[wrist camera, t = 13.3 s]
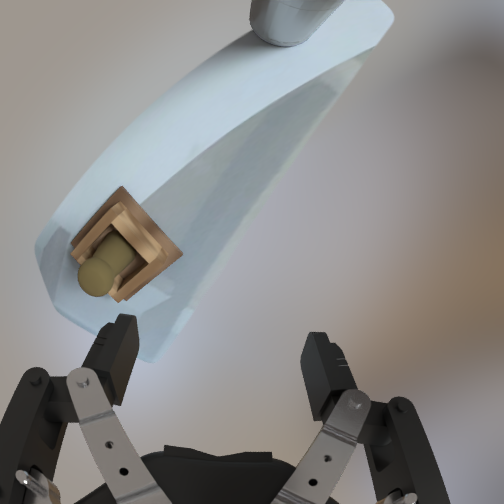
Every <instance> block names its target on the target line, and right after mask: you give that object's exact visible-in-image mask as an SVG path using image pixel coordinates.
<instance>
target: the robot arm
mask: <svg viewBox="0 0 504 504" xmlns="http://www.w3.org/2000/svg"><path fill="white" fill-rule="evenodd" d="M344 1H345V0H252V3H251V9H250V25H251V27H252V29H253V31H254V32H255V33H256V34H257V35H258V36H259V37H260V38H261V39H263V40H264V41H266V42H268V43H270V44H273V45H277V46H288V47H289V46H295V45H298V44H301V43H303V42H305V41H306V40H307V39H308V38H309V37H310V36H311V35H312V34H313V33H314V32H315V31H316V30H317V29H318V28H319V27H320V26H321V25H322V24H323V23H324V22H325V20H326V19H327V18H328V17H329V16H330V15H331V14H332V13H333V12H334V11H335V10H336V9H337V8H338V7H339V6H340V5H341V4H342V3H343V2H344ZM138 351H139V334H138V327H137V319H136V316H134V315H127V314H121V313H120V314H119V315H118V317H117V319H116V321H115V323H110V322H109V323H107V324H106V325H105V326H104V327H102V328H101V330H100V331H99V333H98V335H97V338H96V339H95V341H94V344H93V345H92V347H91V349H90V351H89V352H88V355H87V356H86V359H85V361H84V362H83V365H82V366H81V368H77V369H74V370H73V371H71V372H70V373H69V375H68V376H64V377H50V376H49V374H48V372H47V371H46V370H45V369H43V368H40V367H34V368H31V369H29V370H27V371H26V372H25V373H24V374H23V376H22V378H21V380H20V382H19V384H18V386H17V388H16V390H15V392H14V394H13V397H12V399H11V401H10V403H9V405H8V407H7V410H6V412H5V414H4V417H3V419H2V421H1V424H0V504H61V503H60V492H59V490H58V488H57V486H56V485H55V484H54V483H53V482H52V481H53V477H54V473H55V469H56V464H57V460H58V457H59V452H60V449H61V445H62V441H63V438H64V435H65V431H66V428H67V425H68V422H70V423H71V422H72V423H73V422H75V423H79V425H80V428H81V430H82V433H83V435H84V438H85V440H86V442H87V445H88V447H89V449H90V451H91V453H92V456H93V457H94V460H95V462H96V464H97V466H98V468H99V470H100V472H101V474H102V476H103V478H104V480H105V483H104V484H102V485H101V486H100V487H98V488H97V489H95V490H94V491H93V492H91V493H89V494H88V495H86V496H85V497H83V498H82V499H80V500H79V501H77V502H76V503H74V504H339V503H338V502H337V501H335V500H334V499H333V498H331V497H330V495H331V493H332V491H333V490H334V488H335V486H336V484H337V483H338V481H339V479H340V477H341V475H342V473H343V472H344V470H345V468H346V466H347V464H348V462H349V460H350V458H351V456H352V454H353V452H354V450H355V448H356V445H357V443H361V444H364V448H365V452H366V456H367V460H368V464H369V468H370V472H371V476H372V480H373V485H374V490H375V494H376V499H377V503H376V504H450V500H449V497H448V494H447V491H446V488H445V485H444V482H443V479H442V476H441V473H440V470H439V468H438V465H437V462H436V460H435V457H434V454H433V451H432V449H431V446H430V443H429V441H428V438H427V436H426V433H425V431H424V428H423V426H422V424H421V421H420V419H419V416H418V414H417V412H416V409H415V407H414V405H413V404H412V402H411V401H409V400H408V399H406V398H404V397H394V398H392V399H391V400H390V401H389V403H382V402H375V401H371V400H370V398H369V396H368V395H367V394H366V393H364V392H363V391H361V390H358V388H357V386H356V383H355V381H354V378H353V376H352V373H351V371H350V368H349V366H348V363H347V361H346V360H345V356H344V354H343V352H342V350H341V349H340V347H339V346H337V344H336V343H330V341H329V339H328V336H327V334H326V333H325V332H310V333H309V334H308V337H307V340H306V343H305V346H304V349H303V352H302V355H301V361H300V363H301V370H302V374H303V378H304V382H305V386H306V390H307V394H308V398H309V402H310V406H311V411H312V415H313V420H314V421H322V422H323V427H322V428H321V430H320V432H319V433H318V435H317V436H316V438H315V440H314V441H313V443H312V444H311V446H310V447H309V449H308V450H307V452H306V453H305V455H304V456H303V458H302V459H301V460H300V462H299V463H298V465H297V466H296V468H295V467H294V466H292V465H290V464H289V463H287V462H284V461H282V460H278V459H274V458H272V452H243V453H237V454H232V455H226V456H214V455H210V454H207V453H203V452H201V451H197V450H194V449H191V448H183V447H176V446H169V445H164V451H159V452H153V453H150V454H147V455H144V456H142V457H139V456H138V454H137V452H136V450H135V449H134V447H133V445H132V444H131V442H130V440H129V438H128V436H127V435H126V433H125V431H124V429H123V427H122V425H121V424H120V422H119V420H118V418H117V416H116V414H115V412H114V411H113V409H112V407H113V404H114V405H118V406H121V404H122V401H123V397H124V394H125V391H126V387H127V385H128V381H129V378H130V375H131V372H132V369H133V366H134V363H135V360H136V357H137V355H138Z"/></svg>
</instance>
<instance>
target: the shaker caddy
mask: <svg viewBox="0 0 504 504" xmlns="http://www.w3.org/2000/svg"><path fill="white" fill-rule="evenodd" d="M115 230H118V231H119V232H120V233H121V234H122V235H123V236H124V238H125V239H126V240H127V241H128V242H129V243H130V244H131V245H132V246H133V247H134V248H135V249H136V256H135V259H134V260H133V261H132V262H131V263H130V264H129V265H128V266H127V267H126V268H125V269H124V270H123V271H122V272H121V273H120V274H118V275H117V276H116V277H115V278H114V284H113V287H112V288H111V290H110V291H109V292H108V294H109V295H110V296H111V297H112V298H113V299H114V300H115V301H116V302H118V303H119V302H120V301H121V300H123V299H125V300H126V301H127V300H128V299H129V298H131V297H132V296H133V295H134V294H135V293H137V292H138V291H139V290H140V289H142V288H143V287H144V286H145V285H146V284H148V283H149V282H150V281H151V280H152V279H154V278H155V277H156V276H157V275H159V274H160V273H161V272H162V271H164V270H165V269H166V268H167V267H168V266H170V265H171V264H172V263H173V262H175V261H176V260H177V259H178V258H180V257H181V256H182V255H183V253H182V252H181V251H180V250H179V248H178V247H177V246H176V245H175V244H174V243H173V242H172V241H171V240H170V239H169V238H168V237H167V235H166V234H165V233H164V232H163V231H162V230H161V229H160V228H159V227H158V226H157V224H156V223H155V222H154V221H153V220H152V219H151V218H150V217H149V216H148V214H147V213H146V212H145V211H144V210H143V209H142V208H141V207H140V205H139V204H138V203H137V202H136V201H135V200H134V199H133V197H132V196H131V195H130V194H129V193H128V192H127V191H126V189H125V188H124V187H123V186H121V187H120V188H119V189H118V190H117V191H116V192H115V193H114V194H113V195H112V196H111V197H110V198H109V199H108V201H107V202H106V203H105V204H104V205H103V206H102V207H101V208H100V209H99V210H98V212H97V213H96V214H95V215H94V216H93V217H92V218H91V219H90V221H89V222H88V223H87V224H86V225H85V226H84V228H83V229H82V230H81V231H80V232H79V234H78V235H77V236H76V237H75V238H74V240H73V241H72V242H71V244H72V245H73V247H74V248H75V249H74V250H73V251H72V253H71V255H72V256H73V257H74V259H75V260H76V261H77V262H78V263H79V264H80V265H81V264H82V263H83V262H84V261H86V260H87V259H89V258H92V257H93V255H94V253H95V252H96V250H97V248H98V247H99V245H100V244H101V242H102V240H103V239H104V237H105V236H106V235H107V234H108V233H109V232H111V231H115Z"/></svg>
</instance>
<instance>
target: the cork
mask: <svg viewBox="0 0 504 504" xmlns="http://www.w3.org/2000/svg"><path fill="white" fill-rule="evenodd" d="M135 256H136V249H135V248H134V247H133V246H132V245H131V244H130V243H129V242H128V241H127V240H126V239H125V238H124V236H123V235H122V234H121V233H120V232H119V231H118V230H115V231H111V232H109V233H108V234H107V235H106V236H105V237H104V239H103V240H102V242H101V244H100V245H99V247H98V248H97V250H96V252H95V253H94V255H93V257H92V258H89V259H87V260H86V261H84V262H83V263H82V264H81V266H80V267H79V270H78V282H79V284H80V287H81V288H82V289H83V290H84V291H85V292H86V293H87V294H89V295H91V296H94V297H99V296H104V295H106V294H107V293H108V292H109V291H110V290H111V288H112V287H113V284H114V278H115V277H116V276H117V275H118V274H120V273H121V272H122V271H123V270H124V269H125V268H126V267H127V266H128V265H129V264H130V263H131V262H132V261H133V260H134V259H135Z"/></svg>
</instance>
